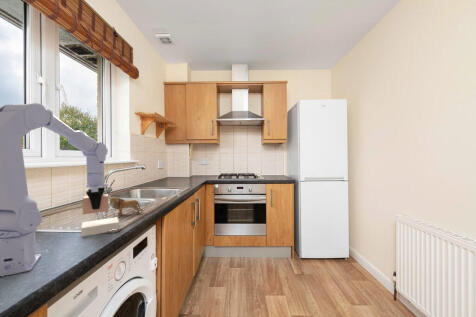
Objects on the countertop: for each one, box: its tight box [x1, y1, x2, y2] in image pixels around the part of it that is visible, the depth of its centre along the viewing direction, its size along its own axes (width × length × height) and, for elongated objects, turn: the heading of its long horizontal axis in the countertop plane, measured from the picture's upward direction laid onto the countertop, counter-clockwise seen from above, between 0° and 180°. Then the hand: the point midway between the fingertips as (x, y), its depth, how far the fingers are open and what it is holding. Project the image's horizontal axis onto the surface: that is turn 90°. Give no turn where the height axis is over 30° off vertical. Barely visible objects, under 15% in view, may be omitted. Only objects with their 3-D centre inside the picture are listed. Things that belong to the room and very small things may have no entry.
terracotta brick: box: [82, 193, 109, 215], centre depth 83 cm, size 4×8×6 cm, turn 121°
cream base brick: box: [80, 216, 120, 237], centre depth 83 cm, size 8×12×4 cm, turn 123°
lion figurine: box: [109, 196, 144, 216], centre depth 106 cm, size 15×5×9 cm, turn 120°
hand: (96, 207), depth 83 cm, fingers closed on terracotta brick, 4 cm apart
